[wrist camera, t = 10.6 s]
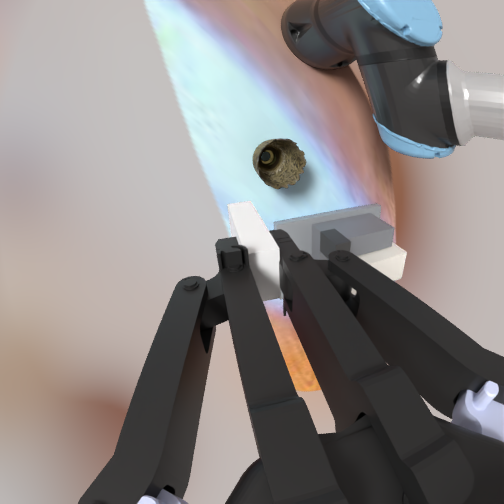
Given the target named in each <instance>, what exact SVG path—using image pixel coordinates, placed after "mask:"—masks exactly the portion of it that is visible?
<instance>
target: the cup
mask: <svg viewBox="0 0 504 504" xmlns="http://www.w3.org/2000/svg"><path fill="white" fill-rule="evenodd" d="M296 144H297V143H295V142H293V141H292V140H290V139H271V140H267V141H265V142H263V143H261V144H260V145H259V146H258V147H257V148H256V150H255V152H254V154H253V166H254V168H255V171H256V172H257V174H258V175H259V177H260V178H261V179H262V180H263V181H264V182H265V184H266V185H268V186H271V187H273V188H275V189H280V188H282V187H283V188H288V185H294V184H295V183H296V181H299V179H300V175H299V174H302V173H304V171H303V167H305V165H306V160H305V157H304V155H305V154H304V152H303V151H301V150H299V147H298V146H297V145H296ZM263 152H268V153H269V154H270V159H269V160H268V161H263V160H262V159H261V156H262V154H263Z"/></svg>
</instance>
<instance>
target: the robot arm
mask: <svg viewBox="0 0 504 504" xmlns="http://www.w3.org/2000/svg"><path fill="white" fill-rule="evenodd" d="M441 29H442V22H441V18H440V15H439V13H438V11H437V9H436V7H435V5H434V4H433V2H432V1H431V0H296V1H295V2H294V3H292V4H291V5H290V6H289V7H288V8H287V9H286V10H285V12H284V14H283V16H282V20H281V30H282V34H283V37H284V40H285V42H286V44H287V45H288V47H289V48H290V50H291V51H292V52H293V53H294V54H295V55H296V56H297V57H298V58H299V59H300V60H302V61H303V62H305V63H306V64H308V65H310V66H313V67H316V68H319V69H326V70H331V69H337V68H342V67H345V66H347V65H349V64H351V63H352V62H353V61H355V60H357V63H358V65H359V69H360V72H361V75H362V78H363V81H364V84H365V87H366V90H367V93H368V97H369V100H370V103H371V107H372V110H373V118H374V120H375V122H376V123H377V126H378V130H379V133H380V136H381V139H382V140H383V142H384V143H385V144H386V145H387V146H388V147H390V148H391V149H393V150H394V151H396V152H399V153H401V154H404V155H408V156H412V157H417V158H429V159H431V158H434V156H435V157H439V158H442V157H446V156H448V155H450V154H452V153H453V151H454V149H455V147H456V145H459V146H465V145H466V144H467V143H468V141H470V140H471V138H473V137H475V136H479V137H487V138H493V139H500V140H504V75H502V74H492V73H479V72H466V71H463V70H462V69H461V68H459V67H458V66H457V65H456V64H455V63H454V62H452V61H450V60H448V61H447V60H446V61H444V60H443V61H440V60H438V58H437V55H436V52H435V49H434V45H435V44H436V43H437V42H439V40H440V39H441V37H442V31H441ZM228 213H229V221H230V229H231V238H225V239H218V241H217V242H216V244H215V246H216V252H217V258H218V265H219V272H218V274H217V275H216V276H215V277H213V278H212V279H210V280H207V281H205V279H204V278H201V277H199V276H191V277H187V278H184V279H182V280H181V281H179V282H178V284H177V285H176V287H175V290H174V291H173V294H172V296H171V298H170V301H169V303H168V306H167V308H166V310H165V313H164V315H163V318H162V320H161V323H160V325H159V328H158V330H157V333H156V335H155V338H154V340H153V343H152V346H151V348H150V351H149V353H148V356H147V358H146V361H145V364H144V367H143V369H142V372H141V375H140V377H139V380H138V383H137V386H136V388H135V392H134V394H133V397H132V400H131V403H130V406H129V409H128V412H127V415H126V418H125V421H124V424H123V427H122V430H121V433H120V436H119V440H118V443H117V446H116V449H115V452H114V455H113V457H112V458H111V459H110V461H109V462H108V463H107V465H106V466H105V467H104V468H103V470H102V471H101V472H100V474H99V475H98V476H97V478H96V479H95V480H94V481H93V483H92V484H91V485H90V487H89V488H88V489H87V491H86V492H85V493H84V495H83V496H82V497H81V498H80V500H79V502H78V504H188V503H187V502H186V501H184V500H183V496H184V494H185V491H186V488H187V486H188V482H189V477H190V473H191V467H192V461H193V454H194V449H195V443H196V437H197V431H198V425H199V419H200V413H201V407H202V402H203V396H204V391H205V385H206V380H207V374H208V369H209V364H210V358H211V352H212V348H213V342H214V337H215V332H216V325H218V324H221V323H223V322H225V321H227V320H229V324H230V329H231V334H232V339H233V344H234V349H235V354H236V358H237V363H238V367H239V372H240V377H241V381H242V385H243V390H244V394H245V399H246V403H247V407H248V412H249V416H250V420H251V423H252V428H253V432H254V436H255V440H256V445H257V449H258V453H259V457H260V458H259V459H257V460H256V461H255V462H253V463H252V464H251V465H250V466H249V467H248V468H247V470H246V471H245V472H244V473H243V475H242V476H241V478H240V480H239V482H238V483H237V485H236V486H235V488H234V490H233V491H232V493H231V495H230V496H229V498H228V499H227V501H226V503H225V504H504V357H503V356H500V355H498V354H496V353H494V352H491V351H489V350H487V349H484V348H482V347H481V346H480V345H479V344H478V343H476V342H475V341H474V340H473V339H471V338H470V337H469V336H467V335H466V334H465V333H464V332H462V331H461V330H460V329H459V328H457V327H456V326H455V325H453V324H452V323H451V322H449V321H448V320H447V319H445V318H444V317H443V316H441V315H440V314H439V313H437V312H436V311H435V310H433V309H432V308H431V307H429V306H428V305H427V304H425V303H424V302H422V301H421V300H420V299H418V298H417V297H415V296H414V295H413V294H411V293H410V292H408V291H407V290H406V289H404V288H403V287H401V286H400V285H399V284H397V283H396V282H394V281H393V280H391V279H390V278H389V277H387V276H386V275H384V274H383V273H381V272H380V271H378V270H377V269H375V268H374V267H372V266H371V265H369V264H368V263H366V262H365V261H363V260H362V259H360V258H359V257H357V256H356V255H354V254H353V253H351V252H349V251H345V250H337V251H333V252H331V253H330V254H329V255H328V260H316V259H313V258H312V256H311V255H310V254H309V253H308V252H305V251H302V250H299V248H298V247H297V245H296V244H295V243H294V241H293V240H292V238H290V236H289V234H288V233H287V232H285V231H284V230H282V229H278V230H271V231H269V230H268V229H267V227H266V225H265V224H264V222H263V220H262V219H261V217H260V215H259V214H258V212H257V210H256V209H255V207H254V205H253V204H252V202H251V201H246V202H239V203H232V204H228ZM352 288H353V289H354V290H356V295H354V294H352V293H351V291H352ZM281 291H282V293H283V313H284V316H286V311H287V313H288V315H289V317H290V319H291V321H292V324H293V326H294V328H295V330H296V333H297V335H298V337H299V339H300V342H301V344H302V346H303V349H304V351H305V353H306V355H307V358H308V360H309V362H310V364H311V367H312V369H313V371H314V373H315V376H316V378H317V380H318V383H319V385H320V387H321V389H322V392H323V394H324V396H325V398H326V401H327V403H328V405H329V408H330V410H331V412H332V414H333V417H334V420H335V429H336V433H326V434H318V433H317V431H316V428H315V425H314V423H313V420H312V418H311V415H310V413H309V410H308V408H307V405H306V403H305V401H304V400H303V398H302V397H299V396H298V395H297V392H296V390H295V387H294V384H293V382H292V379H291V376H290V374H289V371H288V368H287V366H286V363H285V360H284V358H283V355H282V352H281V350H280V347H279V344H278V342H277V339H276V336H275V333H274V331H273V328H272V325H271V323H270V320H269V317H268V315H267V312H266V309H265V306H264V304H263V301H267V300H272V299H277V298H281ZM386 363H387V364H388V365H387V364H386ZM420 395H421V396H422V397H423V398H424V399H425V400H426V401H427V402H428V403H429V404H430V405H431V406H433V407H434V408H435V409H436V410H438V411H439V412H441V413H442V414H444V415H445V416H447V417H449V418H451V419H453V420H452V422H451V423H450V422H448V421H445V420H443V419H440V418H438V417H435V416H433V415H432V414H431V412H430V410H429V409H428V407H427V405H426V404H425V402H424V401H423V399H422V398H421V396H420Z"/></svg>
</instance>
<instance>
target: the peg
mask: <svg viewBox="0 0 504 504" xmlns="http://www.w3.org/2000/svg"><path fill="white" fill-rule="evenodd" d="M406 255H407V252H406V251H404V250H403V249H402V248H400V247H399V246H397V245H396V244H395V243H393V242H392V247H388V248H385V249H381V250H378V251H374V252H370V253H367V254H363V255H359V256H357V257H359V258H360V259H362V260H363V261H365V262H366V263H368V264H369V265H371V266H372V267H374V268H375V269H377V270H378V271H380V272H381V273H383V274H384V275H386V276H387V277H389V278H390V279H391V280H393V281H395V280H398V279H400V278H402V274H403V269H404V265H405V259H406ZM351 293H352V294H354V295H356V290H354V289H353V288H352V291H351Z"/></svg>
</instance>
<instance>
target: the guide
mask: <svg viewBox="0 0 504 504" xmlns="http://www.w3.org/2000/svg"><path fill="white" fill-rule="evenodd" d="M380 213H381V205H379V204H377V203H376V204H370V205H364V206H358V207H353V208H347V209H341V210H336V211H330V212H325V213H319V214H314V215H308V216H303V217H298V218H292V219H287V220H282V221H277V222H274V230H278V229H282V230H284V231H285V232H287V233H288V234H289V236H290V238H292V240H293V241H294V243H295V244H296V245H297V247H298V248H299V250H302V251H305V252H308V253H309V254H310V255H311V256H312V258H313V259H316V260H328V255H329V254H330V253H331V252H333V251H337V250H345V251H349V252H351V253H353V254H354V255H356V256H359V255H363V254H367V253H370V252H374V251H378V250H381V249H385V248H388V247H392V242H393V235H394V227H392V226H391V225H389V224H388V223H386V222H384V221H383V220H381V219H380ZM281 299H283V293H282V291H281V298H280V300H281Z"/></svg>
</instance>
